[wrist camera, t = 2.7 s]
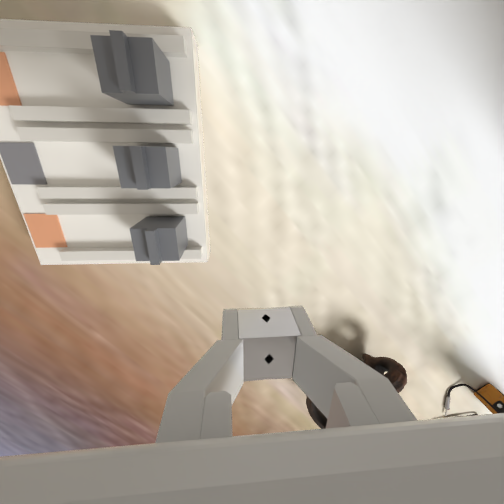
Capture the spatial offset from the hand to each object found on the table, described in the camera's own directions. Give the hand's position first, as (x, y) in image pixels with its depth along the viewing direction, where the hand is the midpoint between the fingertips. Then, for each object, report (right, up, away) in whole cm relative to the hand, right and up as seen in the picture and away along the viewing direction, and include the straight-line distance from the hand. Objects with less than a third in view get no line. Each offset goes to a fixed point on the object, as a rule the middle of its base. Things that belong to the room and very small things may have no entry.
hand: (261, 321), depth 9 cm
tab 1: (-7, +14, +6) cm, 17 cm away
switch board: (-11, +10, +10) cm, 18 cm away
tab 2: (-7, +4, +10) cm, 13 cm away
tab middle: (-7, +9, +8) cm, 14 cm away
